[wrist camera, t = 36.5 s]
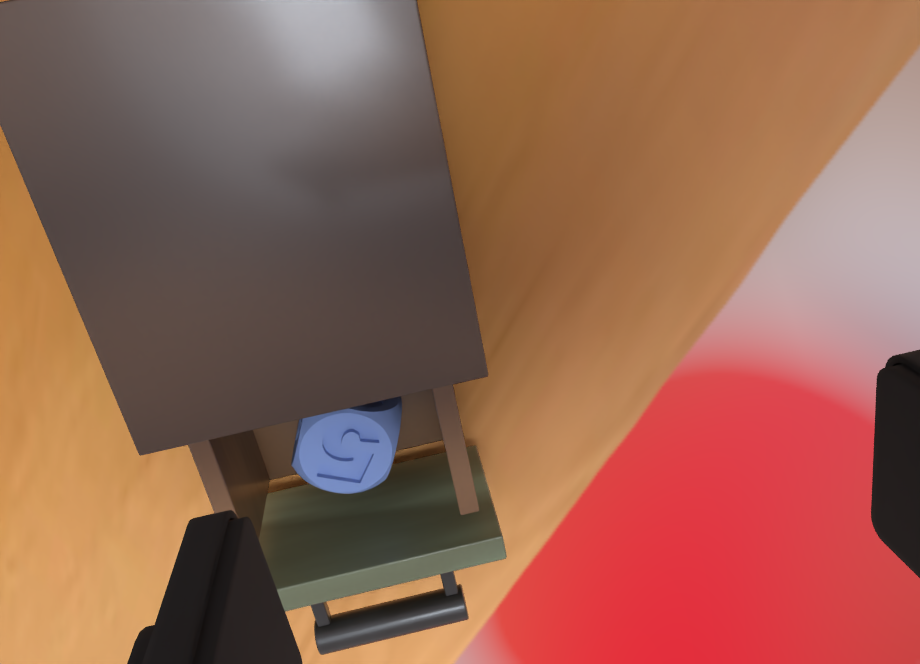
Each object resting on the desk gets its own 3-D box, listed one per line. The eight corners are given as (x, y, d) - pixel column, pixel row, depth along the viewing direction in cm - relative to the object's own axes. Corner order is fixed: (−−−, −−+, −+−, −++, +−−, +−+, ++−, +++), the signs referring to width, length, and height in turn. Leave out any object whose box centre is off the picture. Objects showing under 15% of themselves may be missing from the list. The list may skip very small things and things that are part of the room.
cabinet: (457, 292, 35) (489, 376, 27) (190, 351, 35) (138, 456, 26) (388, -50, 30) (402, -78, 21) (67, 14, 29) (-49, 11, 21)
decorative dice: (294, 437, 35) (287, 486, 31) (312, 360, 34) (307, 402, 30) (379, 452, 36) (382, 501, 32) (399, 378, 34) (405, 420, 31)
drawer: (496, 542, 40) (525, 647, 33) (284, 593, 40) (270, 709, 33) (426, 205, 33) (445, 253, 26) (165, 262, 32) (116, 325, 25)
